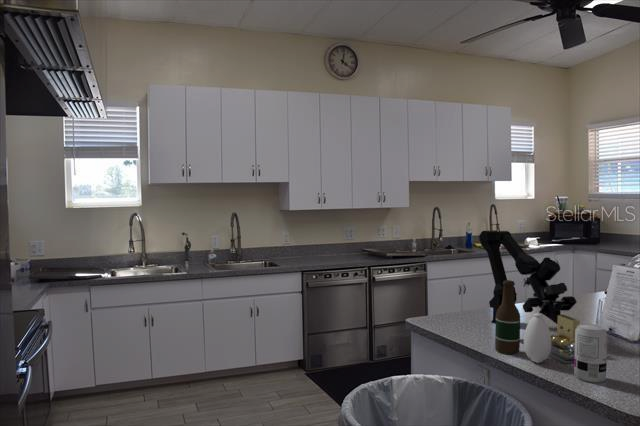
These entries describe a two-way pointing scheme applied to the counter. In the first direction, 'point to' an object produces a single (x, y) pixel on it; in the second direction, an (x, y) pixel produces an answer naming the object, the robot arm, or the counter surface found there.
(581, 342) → the supplement can
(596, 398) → the counter surface
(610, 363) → the counter surface
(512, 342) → the beer bottle
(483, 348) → the counter surface
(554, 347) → the rubber mat
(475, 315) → the counter surface
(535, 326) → the sauce bottle
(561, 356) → the gunmetal leaf
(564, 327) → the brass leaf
